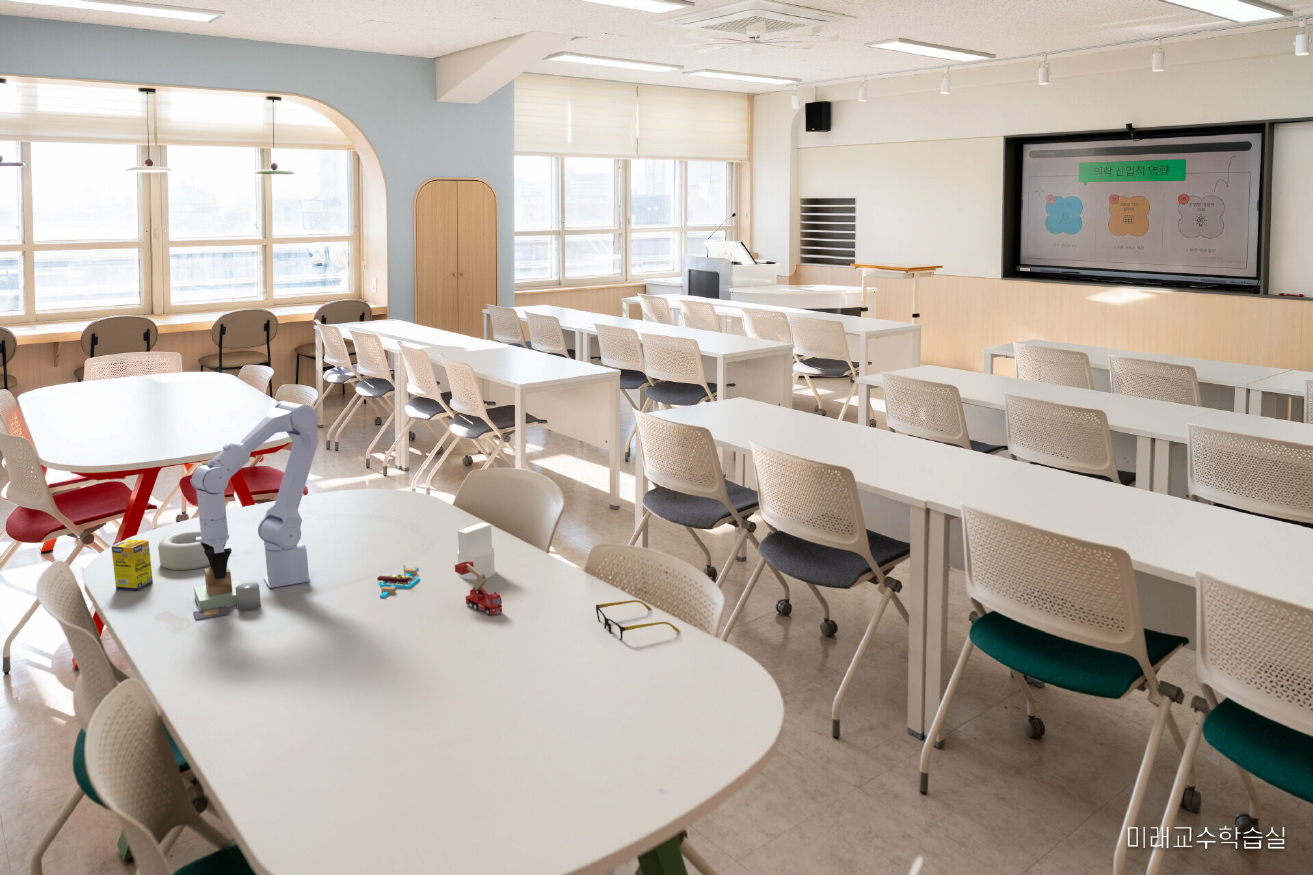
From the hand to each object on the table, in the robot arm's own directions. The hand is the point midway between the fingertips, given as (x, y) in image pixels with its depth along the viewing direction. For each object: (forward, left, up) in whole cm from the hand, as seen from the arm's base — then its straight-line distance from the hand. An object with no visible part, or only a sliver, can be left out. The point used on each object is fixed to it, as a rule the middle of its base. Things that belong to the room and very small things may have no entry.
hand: (218, 573), depth 240 cm
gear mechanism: (-39, +9, -7) cm, 41 cm away
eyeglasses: (-77, +61, -7) cm, 98 cm away
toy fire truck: (-51, +34, -7) cm, 62 cm away
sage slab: (0, 0, -7) cm, 7 cm away
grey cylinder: (-5, +8, -6) cm, 11 cm away
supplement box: (+17, -20, -7) cm, 27 cm away
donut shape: (+3, -33, -7) cm, 34 cm away
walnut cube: (0, 0, -4) cm, 4 cm away
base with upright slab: (-58, +12, -7) cm, 60 cm away
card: (+3, +8, -6) cm, 11 cm away
